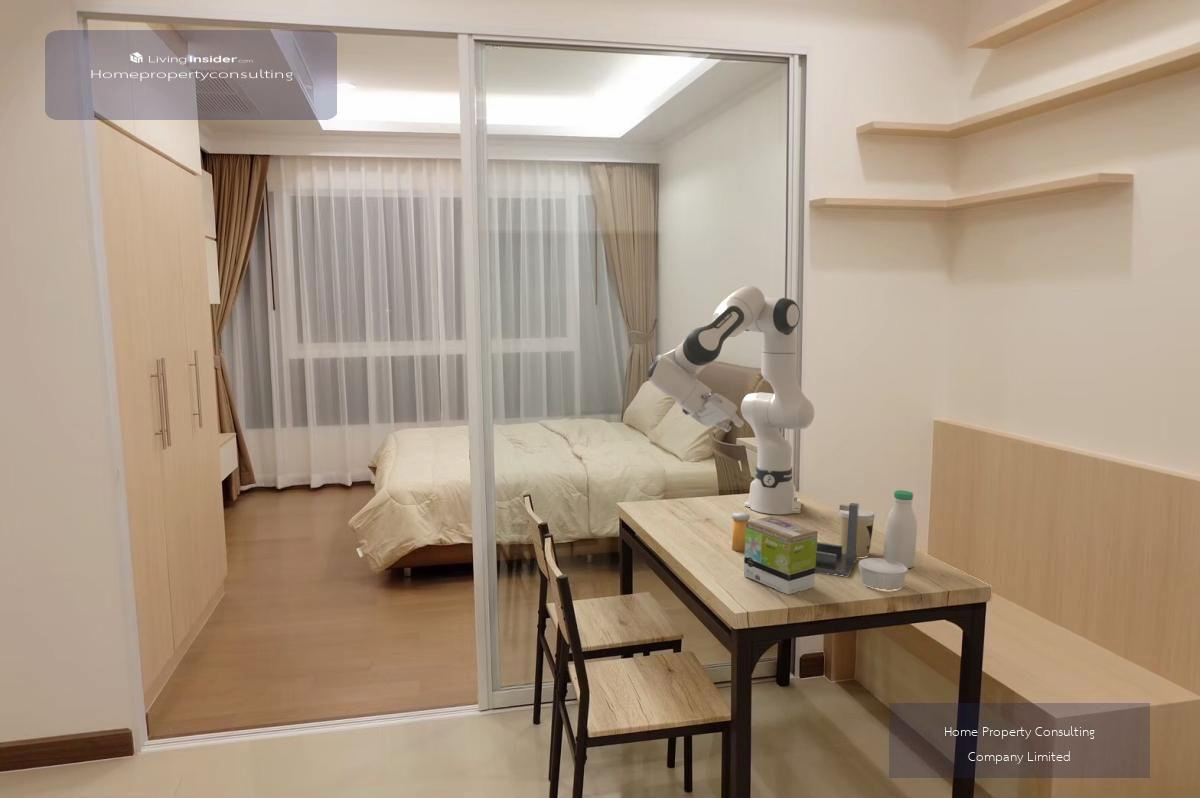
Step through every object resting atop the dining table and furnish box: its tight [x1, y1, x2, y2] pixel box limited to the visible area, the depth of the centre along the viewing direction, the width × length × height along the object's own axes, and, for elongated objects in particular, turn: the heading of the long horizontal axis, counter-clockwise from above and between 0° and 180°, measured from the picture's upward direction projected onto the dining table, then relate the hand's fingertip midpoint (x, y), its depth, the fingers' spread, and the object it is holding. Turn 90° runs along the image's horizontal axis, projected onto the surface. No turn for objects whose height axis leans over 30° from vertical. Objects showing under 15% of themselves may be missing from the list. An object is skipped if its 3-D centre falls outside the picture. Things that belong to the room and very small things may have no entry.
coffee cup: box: [838, 507, 875, 558], centre depth 214 cm, size 9×9×12 cm
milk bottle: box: [883, 490, 918, 569], centre depth 205 cm, size 8×8×20 cm
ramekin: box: [858, 557, 909, 590], centre depth 191 cm, size 11×11×5 cm
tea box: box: [743, 515, 819, 595], centre depth 191 cm, size 15×10×15 cm
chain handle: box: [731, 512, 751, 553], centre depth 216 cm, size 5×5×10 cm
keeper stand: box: [815, 502, 860, 577], centre depth 204 cm, size 15×12×17 cm
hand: (735, 427), depth 218 cm, fingers open, 8 cm apart
